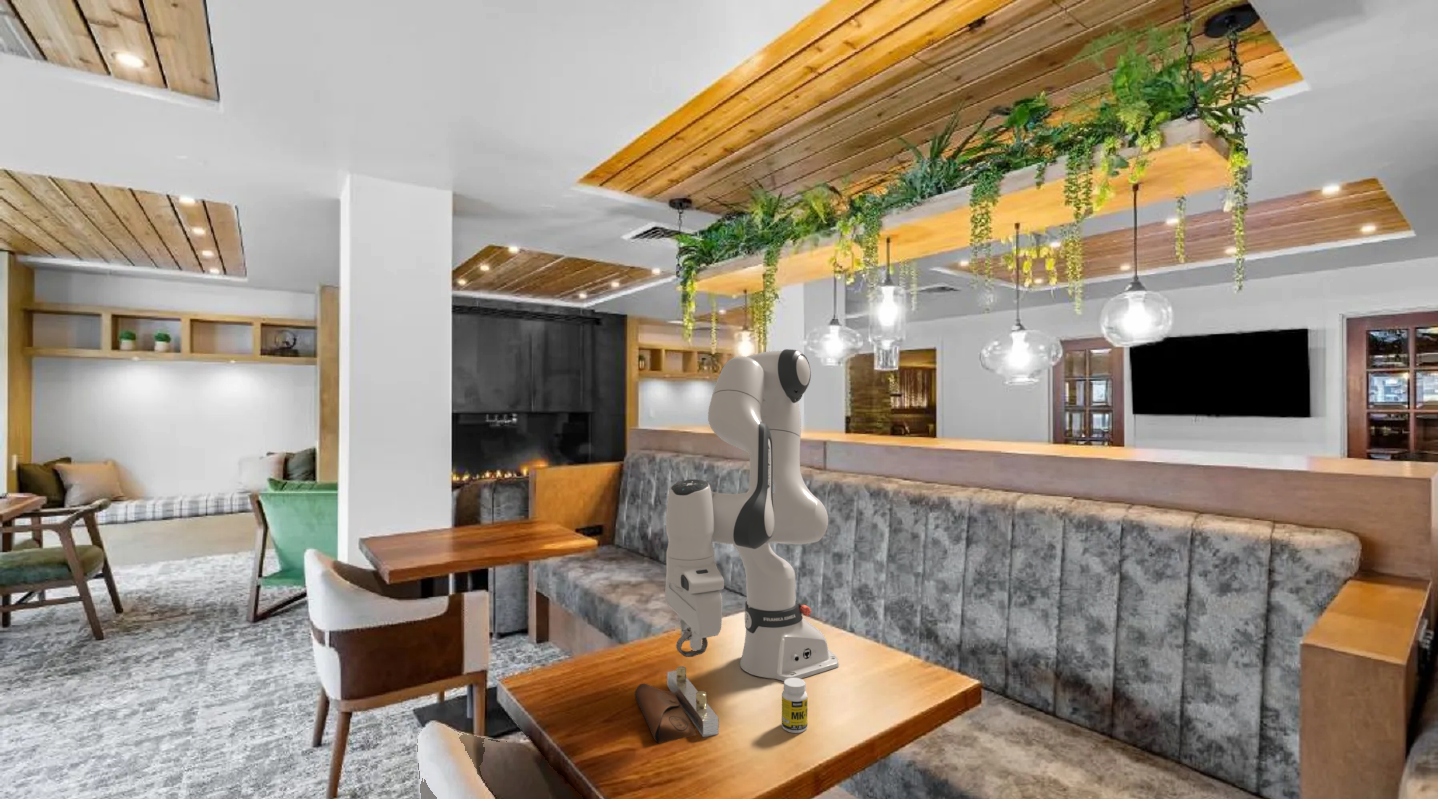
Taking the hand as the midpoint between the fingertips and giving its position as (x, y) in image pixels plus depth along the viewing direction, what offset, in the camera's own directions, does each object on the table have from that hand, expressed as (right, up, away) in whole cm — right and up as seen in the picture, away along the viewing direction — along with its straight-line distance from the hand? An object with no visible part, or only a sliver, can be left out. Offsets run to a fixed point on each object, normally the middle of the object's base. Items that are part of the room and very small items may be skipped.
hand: (691, 644), depth 119 cm
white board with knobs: (0, -16, +8) cm, 18 cm away
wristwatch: (0, -2, 0) cm, 2 cm away
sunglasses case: (-5, -16, +5) cm, 18 cm away
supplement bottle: (+19, -16, +1) cm, 25 cm away
